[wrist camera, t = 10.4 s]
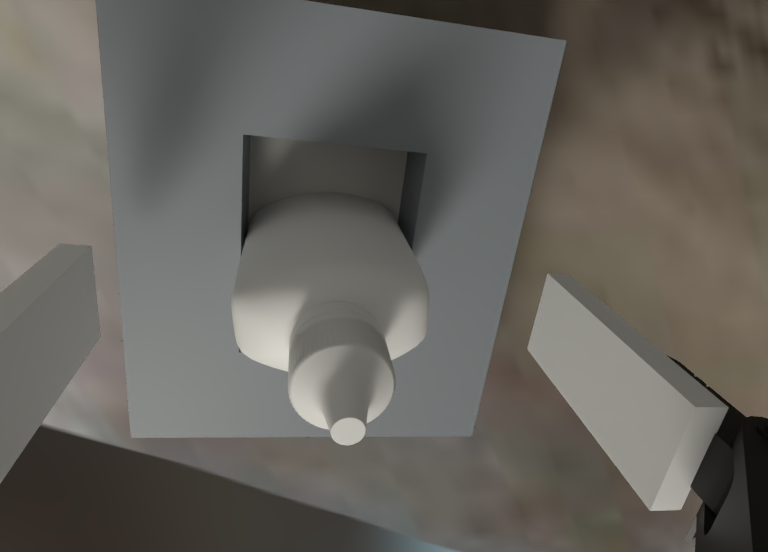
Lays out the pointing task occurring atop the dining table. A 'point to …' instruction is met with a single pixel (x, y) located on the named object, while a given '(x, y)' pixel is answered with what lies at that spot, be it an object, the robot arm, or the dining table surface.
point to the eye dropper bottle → (330, 305)
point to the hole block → (310, 188)
